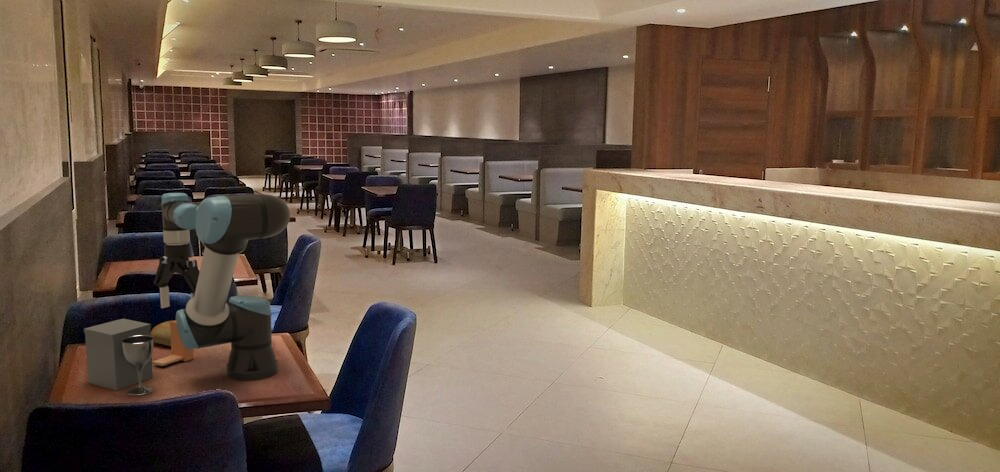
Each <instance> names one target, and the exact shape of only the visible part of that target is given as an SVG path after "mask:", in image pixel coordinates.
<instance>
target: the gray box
mask: <svg viewBox="0 0 1000 472" xmlns="http://www.w3.org/2000/svg"><path fill="white" fill-rule="evenodd" d="M151 328H152V324H151V323H147V322H142V321H137V320H132V319H127V318H121V319H116V320H111V321H108V322H104V323H101V324H95V325H92V326H90V327H85V328H83V333H84V336H85V350H86V351H85V353H86V354H85V355H86V367H87V381H88V382H87V383H88V384H91V385H95V386H99V387H103V388H106V389H110V390H115V391H119V390H122V389H125V388H127V387H130V386H133V385H136V384H139V383H138V375H137V372H136V370H135V369H134V367H132V366H131V365H130V364H129V363H128V362H127V361H126V360H125V358H124V355H123V351H122V339H124V338H127V337H130V336H136V335H149V336H151V335H150V333H151ZM152 361H153V356H152V357H151V359H150V360H149V361H148V363H147V364H146V365H145V366H144V368H143V370H142V377H141V382H144V381H148V380H150V379H152V378H154V375H153V373H154V372H153V369H154V364H152Z"/></svg>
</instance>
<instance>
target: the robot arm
mask: <svg viewBox="0 0 1000 472" xmlns="http://www.w3.org/2000/svg"><path fill="white" fill-rule="evenodd" d="M161 195H162V196H161V213H162V214H161V215H162V235H163V237H162V238H163V243H164V244H163V250H164V251H163V253H164V254H163V255H164V256H160V257H159V258H158V259H159V261H158V262H159V263H158V267H157V269H156V273H155V276H154V280H153V285H156V286H157V288H158V291H159V292H158V294H159V297H160V298H159V299H160V309H164V308H168V307H169V308H170V306H171V305H170V303H171V302H170V287H169V282H170V281H171V278H172V277H173V276H174V274H180V275H181V276H183V278H184V280H185V281H186V283H187V285H188V286H189V288H190V290H191V292H190V299H189V300H188V302H187V303H186V305H185V308H182V309H179V310H177V311H176V314H175V320H176V324H177V329H178V334H179V337H180V340H181V343H182V345H183V346H184V347H185V348H186V349H193V350H195V349H197V350H199V349H203V348H208V347H214V346H220V345H225V344H230V348H231V349H230V351H229V357H228V361H227V363H226V366H225V375H226V376H227V377H228V378H230V379H231V380H232V379H233V380H238V381H239V380H240V381H254V380H261V379H266V378H269V377H272V376H274V375H276V374H277V373H278V372H279V361H278V360H277V358H276V355H275V351H274V349H273V345H272V342H273V341H272V340H273V339H272V311H271V310H272V309H271V303H270V301H269V300H268V299H266V298H265V297H261V296H256V295H255V296H254V295H234V296H230V297H229V292H230V289H231V284H232V281H233V277H234V272H235V269H236V265H237V261H238V258H239V254H241V253H242V252H244V251H245V250H246V248H247V246H248V242H249V241H250V240H260V239H267V238H271V237H274V236H276V235H278V234H280V233H281V232H282V233H283V231H284V230H285V229H286V228H287V227H288V226H289V222H290V219H291V212H290V208H289V206H288V204H287V203H286V201H284V200H283V199H282V198H280V197H277V196H276V195H272V194H263V193H262V194H261V193H259V194H246V195H245V194H244V195H243V194H242V195H230V196H225V195H217V196H211V197H206V198H204V199H203V200H202V201H198V202H197V201H196V202H195V201H194V202H192V201H191V202H190V201H189V196H188V194H187V193H184V192H168V193H163V194H161ZM190 230H195V232H196V236H197V238H198V240H199V241H200V242H201V243H202V245H203V247H204V249H203V254H202V259H201V263H200V268H199V266H198V261H197V259H192V260H190V258H189V256H190V255H191V253H192V252H191V250H192V249H191V244H190V242H191V236H190V232H191V231H190ZM228 297H229V299H228ZM227 301H228V303H227Z"/></svg>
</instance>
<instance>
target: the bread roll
mask: <svg viewBox="0 0 1000 472" xmlns="http://www.w3.org/2000/svg"><path fill="white" fill-rule="evenodd" d="M170 321H171V320H166V321H163V322H161V323H159V324H157V325H156V326H154V327H152V329H151V330H150V335H151V336H152V337H153V343H156V344H160V345H163V346H167V347H171V333H170Z"/></svg>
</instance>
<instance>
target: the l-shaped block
mask: <svg viewBox="0 0 1000 472" xmlns="http://www.w3.org/2000/svg"><path fill="white" fill-rule="evenodd" d="M170 333H171V346H170V349H171V355H168V356H166V357H162V358H159V359H156V360H152V365H156V366H159V367H163V366H168V365H169V364H172V363H175V362H179V361H180V362H181V361H183V362H188V361H190V360H193V359H194V349H186V348H185V347H184V346H183V345H182V343H181V340H180V337H179V334H178V329H177V324H176V319H175V320H170Z"/></svg>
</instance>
